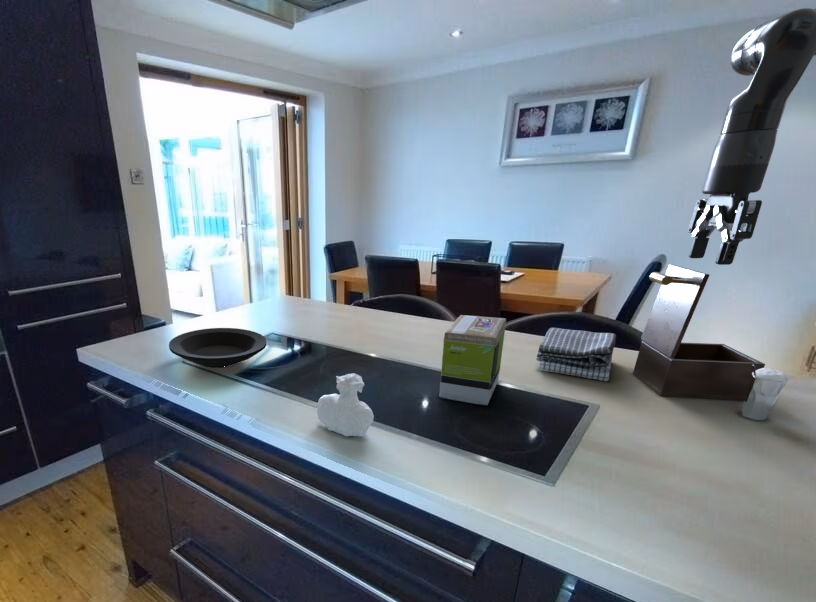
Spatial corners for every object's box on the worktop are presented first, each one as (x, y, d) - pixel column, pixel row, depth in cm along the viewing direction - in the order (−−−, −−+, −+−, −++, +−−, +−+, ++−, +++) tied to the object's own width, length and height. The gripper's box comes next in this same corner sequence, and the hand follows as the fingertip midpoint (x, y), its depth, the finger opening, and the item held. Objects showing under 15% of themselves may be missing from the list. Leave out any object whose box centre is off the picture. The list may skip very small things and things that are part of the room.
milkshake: (725, 409, 84) (744, 360, 80) (758, 411, 83) (779, 362, 79) (741, 420, 80) (762, 369, 76) (777, 423, 79) (800, 371, 75)
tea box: (453, 374, 104) (460, 312, 98) (499, 381, 100) (509, 317, 94) (437, 398, 92) (444, 330, 87) (488, 407, 88) (498, 336, 82)
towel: (612, 359, 110) (620, 329, 107) (607, 384, 96) (616, 350, 93) (544, 349, 118) (550, 321, 115) (531, 371, 105) (537, 339, 102)
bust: (373, 447, 79) (395, 389, 81) (356, 438, 73) (379, 376, 75) (321, 428, 86) (341, 375, 88) (301, 418, 80) (323, 362, 82)
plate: (154, 360, 120) (151, 340, 117) (228, 340, 134) (226, 322, 132) (208, 389, 100) (205, 366, 98) (287, 362, 115) (286, 342, 113)
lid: (673, 264, 92) (644, 262, 92) (710, 274, 80) (676, 271, 81) (644, 339, 98) (617, 336, 99) (674, 358, 87) (644, 354, 88)
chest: (711, 377, 98) (723, 343, 95) (750, 400, 87) (765, 364, 84) (632, 373, 102) (641, 341, 98) (660, 395, 90) (671, 360, 87)
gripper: (798, 158, 67) (760, 266, 74) (737, 163, 80) (709, 255, 86) (739, 161, 69) (707, 267, 75) (689, 166, 82) (665, 256, 88)
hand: (708, 261), depth 81 cm, fingers open, 8 cm apart
